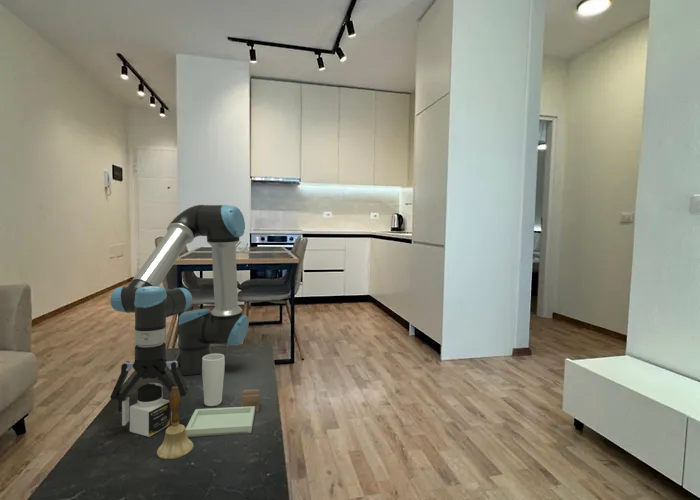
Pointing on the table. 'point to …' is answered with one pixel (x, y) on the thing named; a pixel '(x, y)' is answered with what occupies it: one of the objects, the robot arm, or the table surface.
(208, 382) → the drinking glass
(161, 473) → the table surface
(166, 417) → the medicine bottle
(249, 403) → the walnut block
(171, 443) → the hand bell
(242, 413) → the tray
